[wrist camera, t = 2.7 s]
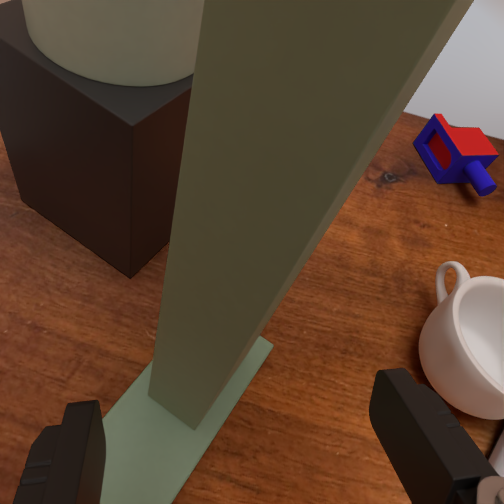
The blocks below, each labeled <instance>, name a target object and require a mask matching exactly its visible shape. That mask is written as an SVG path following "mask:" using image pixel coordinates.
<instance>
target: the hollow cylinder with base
mask: <svg viewBox="0 0 504 504" xmlns="http://www.w3.org/2000/svg"><path fill="white" fill-rule="evenodd" d="M203 6H204V0H11V1H8V2H5V3H2V4H0V131H1V134H2V138H3V141H4V144H5V147H6V151H7V154H8V157H9V160H10V164H11V167H12V170H13V174H14V177H15V180H16V183H17V187H18V190H19V193H20V196H21V200H22V201H23V202H25V203H26V204H28V205H29V206H30V207H32V208H33V209H35V210H36V211H37V212H39V213H40V214H42V215H43V216H44V217H46V218H47V219H48V220H50V221H51V222H53V223H54V224H55V225H57V226H58V227H60V228H61V229H62V230H64V231H65V232H66V233H68V234H69V235H71V236H72V237H73V238H75V239H76V240H78V241H79V242H80V243H82V244H83V245H85V246H86V247H87V248H89V249H90V250H91V251H93V252H94V253H96V254H97V255H98V256H100V257H101V258H103V259H104V260H105V261H107V262H108V263H109V264H111V265H112V266H114V267H115V268H116V269H118V270H119V271H121V272H122V273H123V274H125V275H126V276H127V277H129V278H131V277H132V276H133V275H134V274H135V273H136V272H137V271H139V270H140V269H141V268H142V267H143V266H144V265H145V264H146V263H147V262H148V261H149V260H150V259H151V258H152V257H153V256H154V255H155V254H156V253H157V252H158V251H159V250H160V249H161V248H162V247H163V246H164V245H166V244H167V243H168V242H169V241H170V236H171V229H172V222H173V215H174V208H175V201H176V194H177V187H178V180H179V173H180V167H181V160H182V153H183V146H184V139H185V132H186V125H187V118H188V111H189V104H190V97H191V90H192V83H193V76H194V69H195V62H196V55H197V48H198V41H199V34H200V27H201V20H202V13H203Z"/></svg>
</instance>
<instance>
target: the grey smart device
mask: <svg viewBox="0 0 504 504" xmlns="http://www.w3.org/2000/svg"><path fill="white" fill-rule="evenodd" d="M487 460H488V461H489V463H490V464H491V465H492V467H493V468H494V469H495V471H496V472H497V473H498V474H499V475H500V477H504V427H503V429H502V431H501V433H500V435H499V437H498V439H497V441H496V443H495V445H494V447H493V449H492V451H491V453H490V455H489V457H488V459H487Z"/></svg>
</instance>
